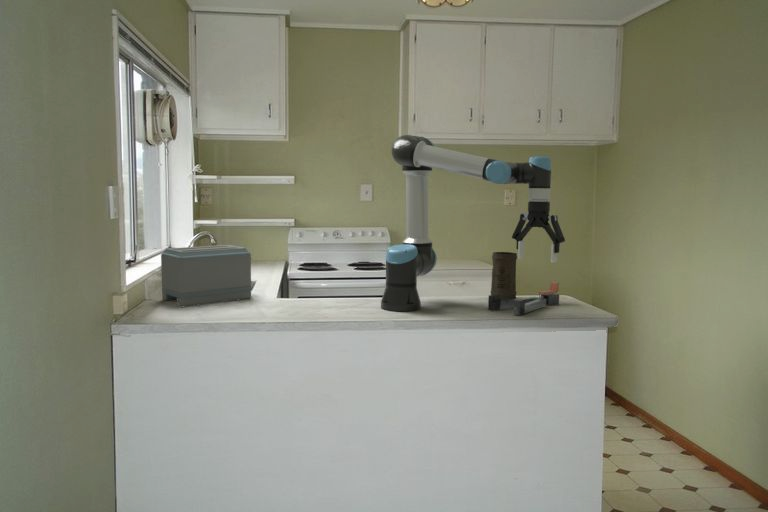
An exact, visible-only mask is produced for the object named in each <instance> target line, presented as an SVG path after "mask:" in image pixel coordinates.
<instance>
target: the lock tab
mask: <svg viewBox="0 0 768 512" xmlns="http://www.w3.org/2000/svg"><path fill="white" fill-rule="evenodd" d="M549 283H550V286H549V290H540V291H538V294H551V293H555V294H558V292H559V288H560V287H559V285H560V284H559V283H560V282H555V281H550V282H549Z"/></svg>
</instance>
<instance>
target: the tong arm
mask: <svg viewBox="0 0 768 512" xmlns="http://www.w3.org/2000/svg"><path fill="white" fill-rule="evenodd" d="M516 299H517V300H515V301H514V308H513V309H514V310H513V315H514V316H522V315H524V314H528V313H530V312H533V311H536V310H539V309H542V308H544V307H547V305H546V299H543V298H540V299H537V300H534V301H531V302H528V303H525V300H524V299H519V298H516Z"/></svg>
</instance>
